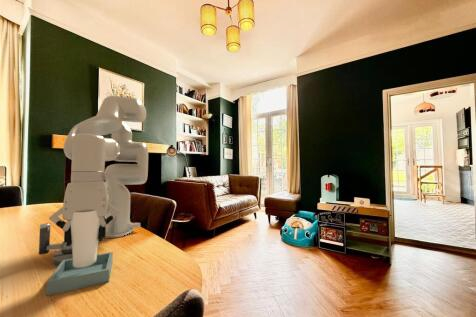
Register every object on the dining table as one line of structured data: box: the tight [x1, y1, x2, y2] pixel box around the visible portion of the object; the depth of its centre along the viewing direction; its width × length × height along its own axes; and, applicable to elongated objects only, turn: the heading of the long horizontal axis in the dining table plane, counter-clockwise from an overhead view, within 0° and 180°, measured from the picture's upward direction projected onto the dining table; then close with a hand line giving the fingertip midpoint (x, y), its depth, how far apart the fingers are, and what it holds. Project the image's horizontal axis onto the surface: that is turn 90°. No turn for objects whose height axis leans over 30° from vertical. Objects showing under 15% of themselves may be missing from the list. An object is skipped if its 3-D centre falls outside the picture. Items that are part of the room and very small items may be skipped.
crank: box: [38, 222, 72, 256], centre depth 65 cm, size 11×5×9 cm, turn 112°
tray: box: [45, 251, 114, 297], centre depth 55 cm, size 12×12×3 cm
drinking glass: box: [71, 210, 101, 268], centre depth 55 cm, size 7×7×15 cm
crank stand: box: [51, 249, 73, 267], centre depth 68 cm, size 16×9×3 cm, turn 38°
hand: (85, 241), depth 55 cm, fingers closed on drinking glass, 6 cm apart
